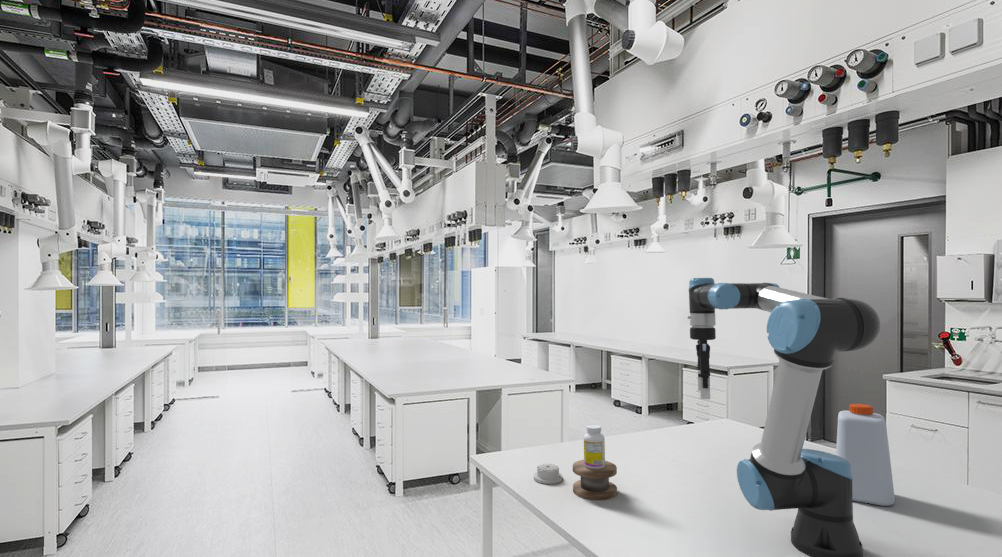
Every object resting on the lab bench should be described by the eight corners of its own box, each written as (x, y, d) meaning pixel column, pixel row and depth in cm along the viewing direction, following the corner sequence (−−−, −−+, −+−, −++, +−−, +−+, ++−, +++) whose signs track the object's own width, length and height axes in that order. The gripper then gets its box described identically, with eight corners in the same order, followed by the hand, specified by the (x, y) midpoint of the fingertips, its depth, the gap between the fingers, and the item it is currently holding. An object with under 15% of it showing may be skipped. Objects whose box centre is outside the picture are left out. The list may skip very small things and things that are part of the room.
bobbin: (624, 497, 159) (624, 471, 159) (581, 501, 156) (581, 475, 157) (606, 481, 173) (606, 457, 173) (567, 485, 170) (566, 460, 170)
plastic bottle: (892, 493, 161) (889, 403, 162) (896, 510, 149) (892, 413, 149) (835, 483, 170) (832, 398, 170) (834, 498, 157) (831, 407, 158)
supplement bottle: (590, 461, 169) (590, 422, 170) (608, 465, 165) (608, 425, 165) (580, 467, 164) (579, 426, 165) (598, 471, 160) (597, 430, 160)
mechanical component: (539, 472, 183) (529, 482, 174) (539, 460, 183) (529, 469, 174) (566, 476, 179) (557, 486, 170) (566, 464, 179) (556, 473, 170)
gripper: (688, 324, 174) (689, 387, 173) (691, 329, 150) (692, 401, 150) (712, 324, 172) (713, 388, 171) (718, 329, 148) (720, 403, 147)
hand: (703, 394), depth 160 cm, fingers open, 13 cm apart
